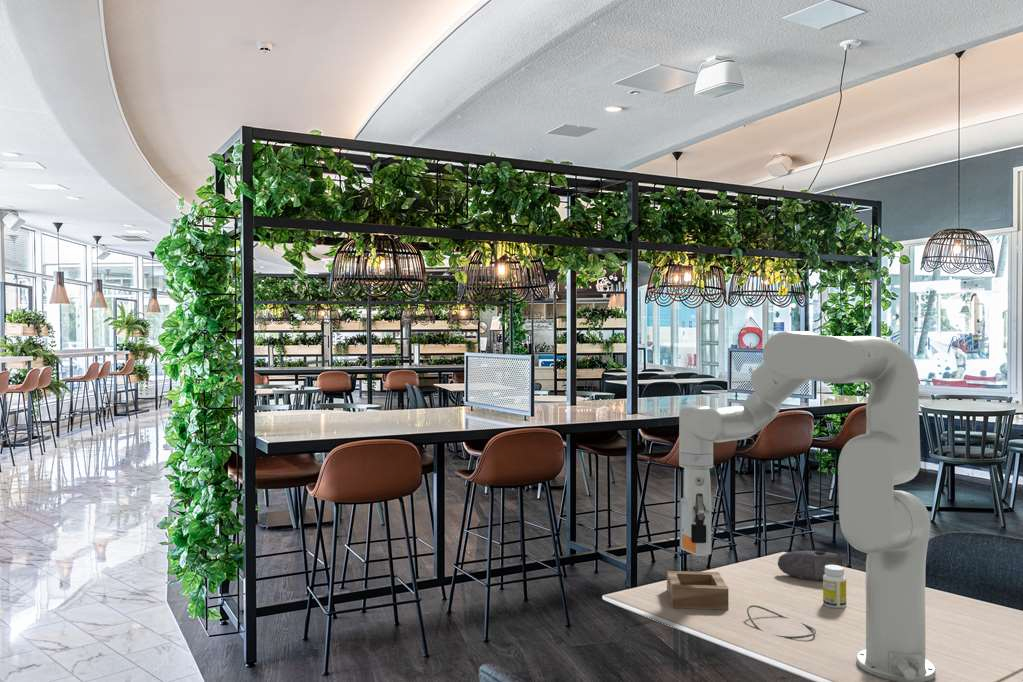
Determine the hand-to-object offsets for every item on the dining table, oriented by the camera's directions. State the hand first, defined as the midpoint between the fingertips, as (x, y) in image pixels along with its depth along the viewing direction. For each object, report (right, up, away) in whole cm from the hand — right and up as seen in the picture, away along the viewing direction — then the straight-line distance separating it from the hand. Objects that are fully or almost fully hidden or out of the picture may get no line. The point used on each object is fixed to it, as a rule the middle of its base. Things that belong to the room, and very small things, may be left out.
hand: (696, 537), depth 173 cm
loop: (+14, -15, -16) cm, 26 cm away
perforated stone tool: (+32, -14, +15) cm, 38 cm away
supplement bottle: (+30, -14, -4) cm, 33 cm away
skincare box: (0, -4, 0) cm, 4 cm away
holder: (0, -14, 0) cm, 14 cm away
